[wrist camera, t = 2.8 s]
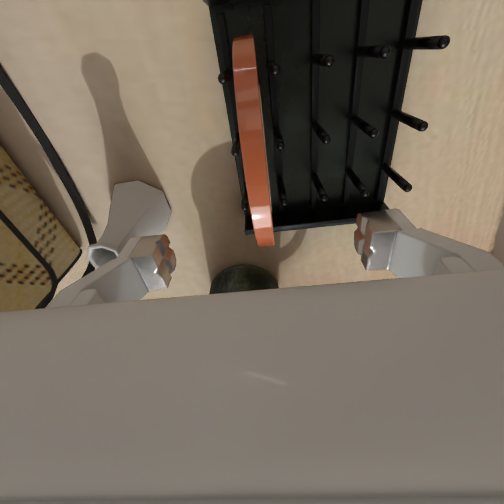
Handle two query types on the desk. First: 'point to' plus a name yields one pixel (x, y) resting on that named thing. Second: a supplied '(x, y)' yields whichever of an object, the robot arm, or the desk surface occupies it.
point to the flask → (130, 219)
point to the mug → (242, 280)
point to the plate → (252, 138)
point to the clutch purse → (33, 229)
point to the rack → (323, 100)
